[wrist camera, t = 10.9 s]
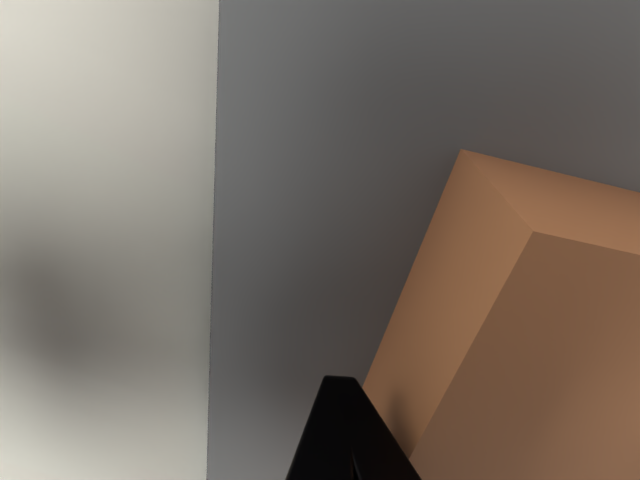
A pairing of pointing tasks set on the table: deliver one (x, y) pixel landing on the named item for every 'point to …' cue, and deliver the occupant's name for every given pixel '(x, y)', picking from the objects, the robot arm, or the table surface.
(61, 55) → the table surface
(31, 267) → the table surface
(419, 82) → the mat
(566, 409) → the link
